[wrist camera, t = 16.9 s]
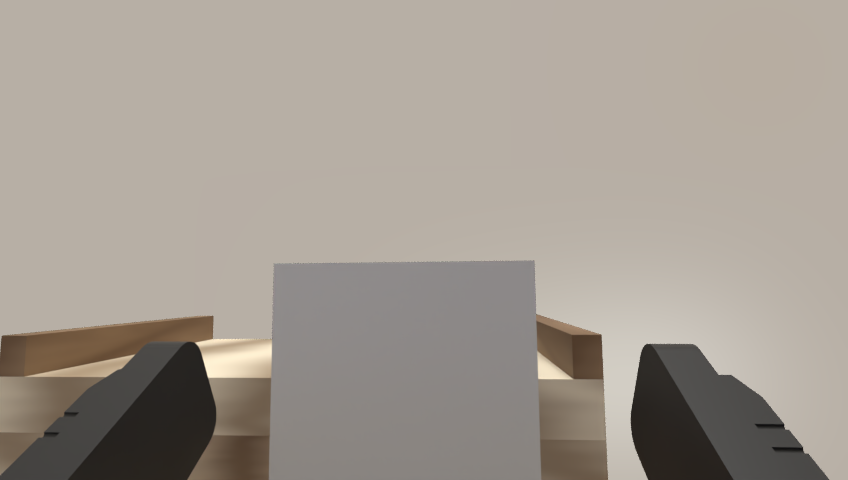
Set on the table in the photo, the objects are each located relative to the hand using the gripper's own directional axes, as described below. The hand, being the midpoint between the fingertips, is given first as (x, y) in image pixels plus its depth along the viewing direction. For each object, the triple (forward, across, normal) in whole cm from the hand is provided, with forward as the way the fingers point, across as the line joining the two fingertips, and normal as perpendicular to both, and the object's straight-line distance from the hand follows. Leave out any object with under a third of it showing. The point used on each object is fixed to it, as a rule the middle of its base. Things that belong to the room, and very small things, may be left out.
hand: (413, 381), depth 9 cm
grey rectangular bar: (+8, 0, +6) cm, 10 cm away
